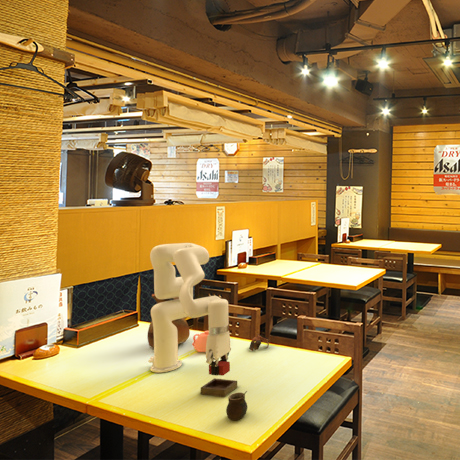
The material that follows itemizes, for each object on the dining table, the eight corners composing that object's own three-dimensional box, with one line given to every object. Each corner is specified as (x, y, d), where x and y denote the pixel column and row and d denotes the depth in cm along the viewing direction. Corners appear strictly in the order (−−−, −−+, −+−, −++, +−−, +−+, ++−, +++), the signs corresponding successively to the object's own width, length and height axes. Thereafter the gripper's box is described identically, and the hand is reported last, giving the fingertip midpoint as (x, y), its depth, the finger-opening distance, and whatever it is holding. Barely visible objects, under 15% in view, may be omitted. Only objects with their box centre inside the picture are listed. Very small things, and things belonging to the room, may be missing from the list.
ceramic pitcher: (165, 337, 213) (164, 287, 212) (197, 339, 211) (197, 288, 210) (138, 350, 194) (136, 294, 192) (173, 352, 192) (172, 296, 190)
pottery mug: (249, 346, 203) (257, 332, 205) (265, 353, 204) (272, 339, 206) (245, 349, 191) (253, 334, 193) (261, 356, 192) (269, 341, 194)
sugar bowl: (212, 354, 190) (212, 335, 190) (185, 353, 191) (185, 334, 190) (224, 345, 203) (223, 327, 202) (199, 345, 203) (198, 327, 202)
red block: (208, 374, 151) (208, 364, 151) (216, 369, 155) (215, 360, 155) (223, 375, 150) (222, 366, 150) (229, 370, 154) (229, 361, 154)
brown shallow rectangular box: (200, 394, 150) (200, 387, 150) (214, 384, 158) (214, 378, 158) (224, 397, 148) (224, 390, 148) (237, 387, 156) (237, 380, 156)
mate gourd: (230, 411, 138) (230, 385, 137) (251, 411, 138) (251, 385, 137) (222, 422, 130) (222, 395, 130) (244, 422, 131) (244, 395, 130)
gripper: (223, 322, 161) (224, 363, 162) (196, 335, 144) (196, 380, 145) (239, 323, 159) (239, 364, 160) (213, 336, 143) (213, 382, 144)
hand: (219, 371), depth 153 cm, fingers closed on red block, 4 cm apart
